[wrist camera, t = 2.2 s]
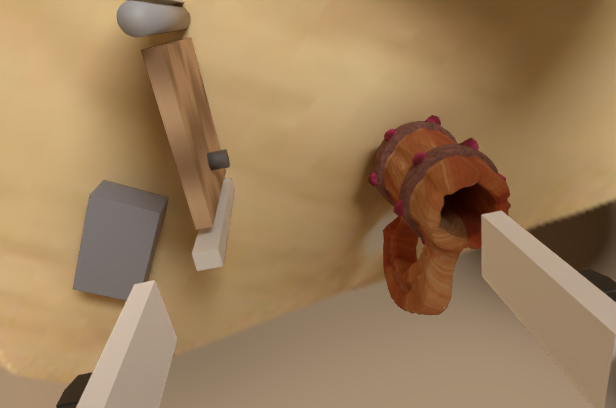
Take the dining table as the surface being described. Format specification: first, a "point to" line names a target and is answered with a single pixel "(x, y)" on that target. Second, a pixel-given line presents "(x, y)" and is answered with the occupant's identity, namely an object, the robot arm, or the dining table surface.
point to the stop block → (118, 239)
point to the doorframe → (212, 241)
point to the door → (188, 126)
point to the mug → (432, 209)
